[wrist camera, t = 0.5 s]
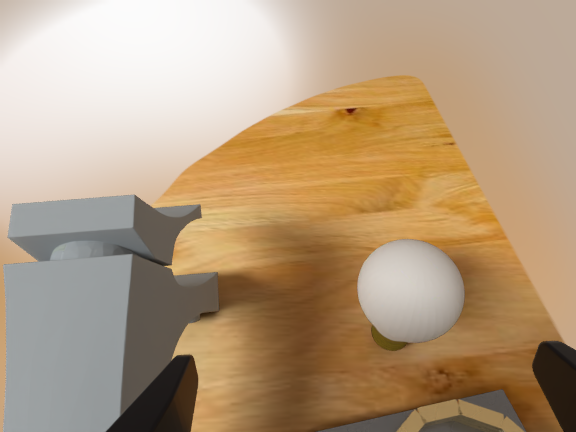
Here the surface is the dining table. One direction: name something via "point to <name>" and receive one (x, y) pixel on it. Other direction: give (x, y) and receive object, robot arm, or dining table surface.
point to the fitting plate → (447, 417)
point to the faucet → (93, 309)
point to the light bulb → (409, 293)
